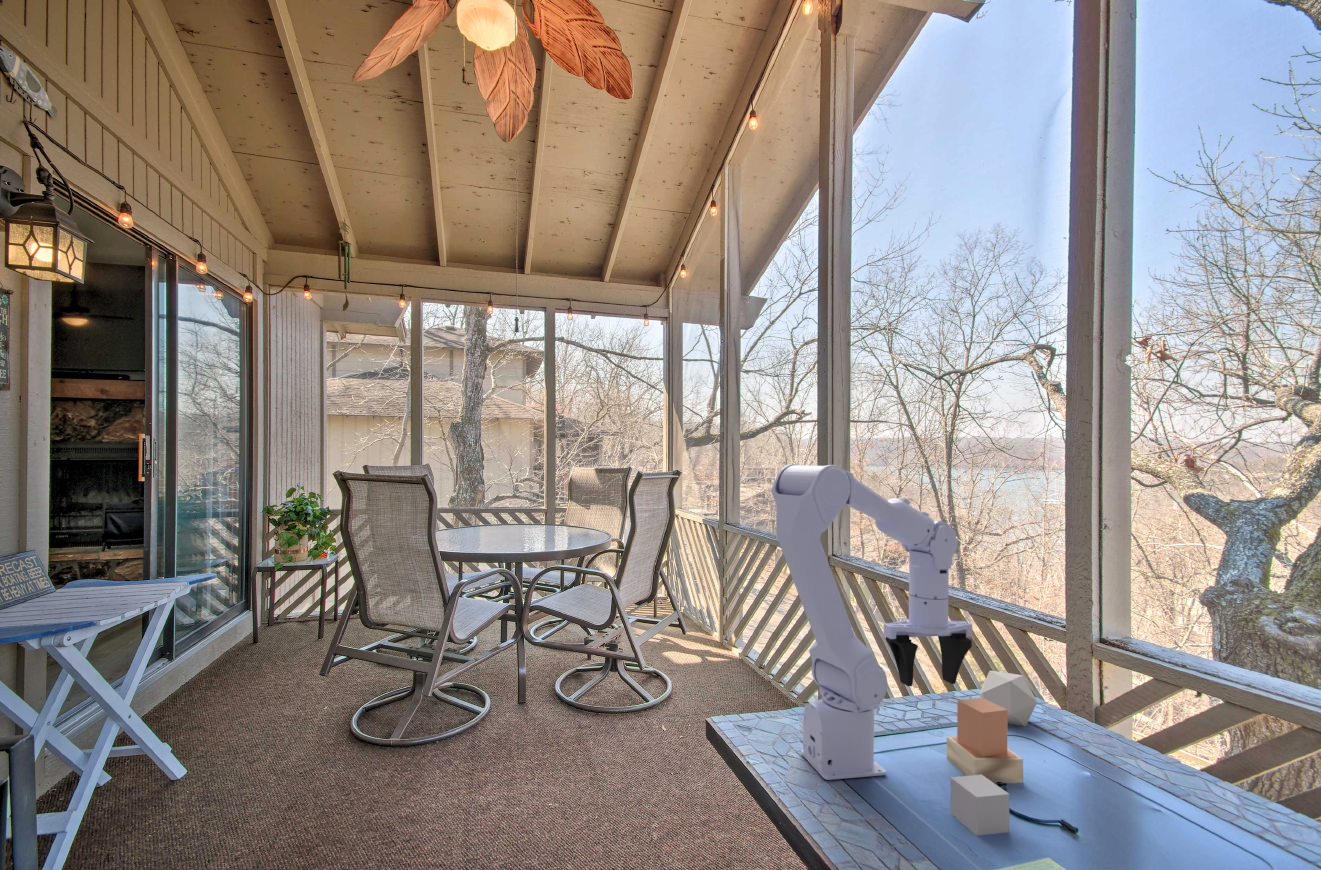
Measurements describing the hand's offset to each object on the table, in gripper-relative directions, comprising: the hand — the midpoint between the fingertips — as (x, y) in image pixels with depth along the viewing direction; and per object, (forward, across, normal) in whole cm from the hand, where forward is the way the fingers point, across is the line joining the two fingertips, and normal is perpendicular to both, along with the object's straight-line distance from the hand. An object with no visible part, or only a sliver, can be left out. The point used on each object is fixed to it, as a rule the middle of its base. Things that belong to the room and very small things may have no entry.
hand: (927, 682), depth 94 cm
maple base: (+10, +3, -8) cm, 13 cm away
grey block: (+10, -7, -20) cm, 23 cm away
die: (+10, +20, +6) cm, 23 cm away
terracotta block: (+6, +3, -8) cm, 11 cm away
